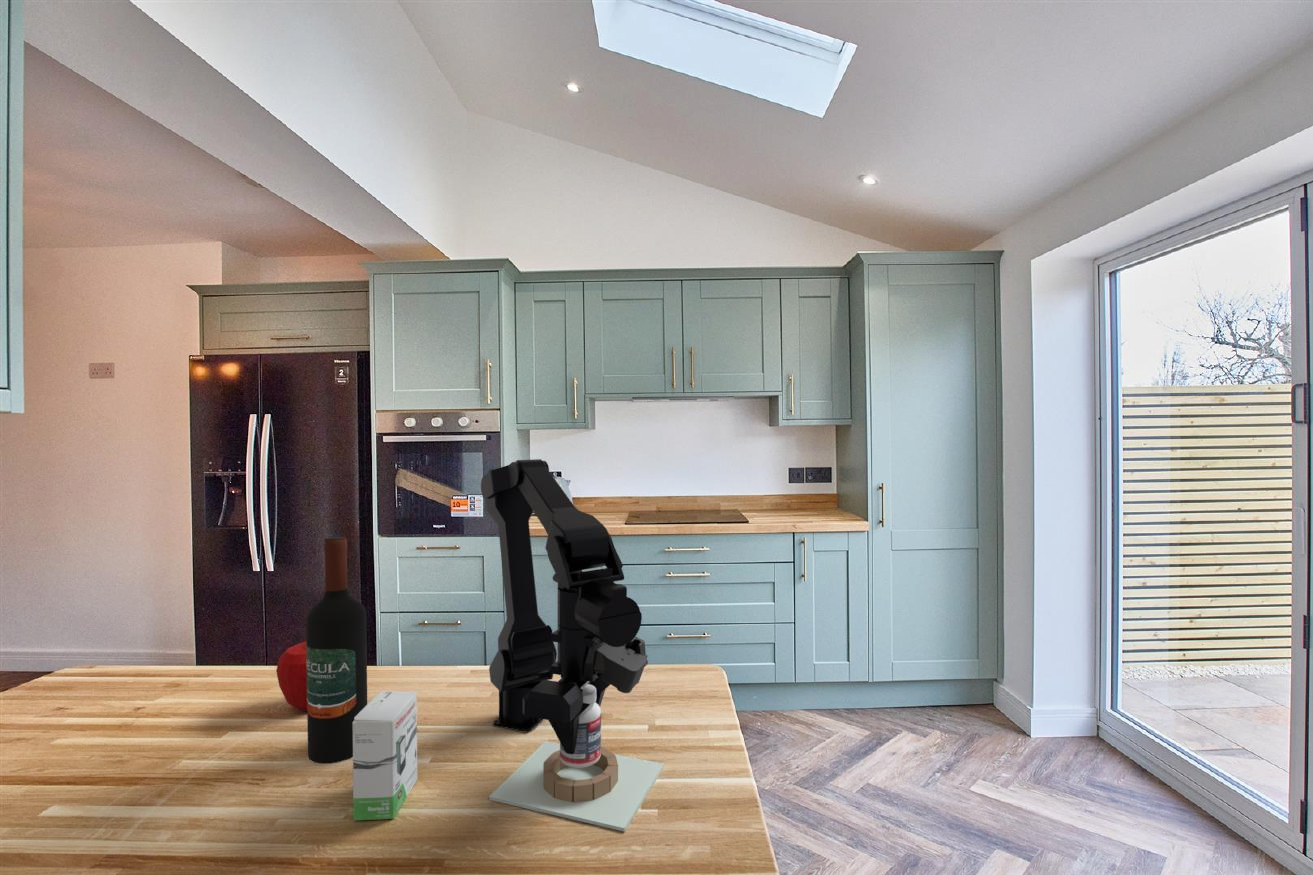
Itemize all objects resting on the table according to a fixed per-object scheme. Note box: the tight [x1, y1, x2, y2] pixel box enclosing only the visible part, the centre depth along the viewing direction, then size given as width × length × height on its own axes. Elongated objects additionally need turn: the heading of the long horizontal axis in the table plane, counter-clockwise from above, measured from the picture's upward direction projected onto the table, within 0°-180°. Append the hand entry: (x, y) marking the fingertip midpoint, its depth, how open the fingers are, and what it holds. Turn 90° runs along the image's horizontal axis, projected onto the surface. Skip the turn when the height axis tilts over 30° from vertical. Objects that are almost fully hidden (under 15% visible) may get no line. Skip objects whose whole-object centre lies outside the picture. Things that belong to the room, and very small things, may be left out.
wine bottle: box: [305, 536, 368, 765], centre depth 88 cm, size 8×8×30 cm
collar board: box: [488, 740, 665, 832], centre depth 80 cm, size 18×14×2 cm
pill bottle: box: [559, 684, 602, 768], centre depth 80 cm, size 5×5×9 cm
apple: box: [275, 641, 307, 712], centre depth 102 cm, size 10×10×11 cm
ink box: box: [352, 690, 418, 821], centre depth 77 cm, size 9×5×12 cm, turn 2°
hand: (580, 742), depth 80 cm, fingers closed on pill bottle, 5 cm apart
